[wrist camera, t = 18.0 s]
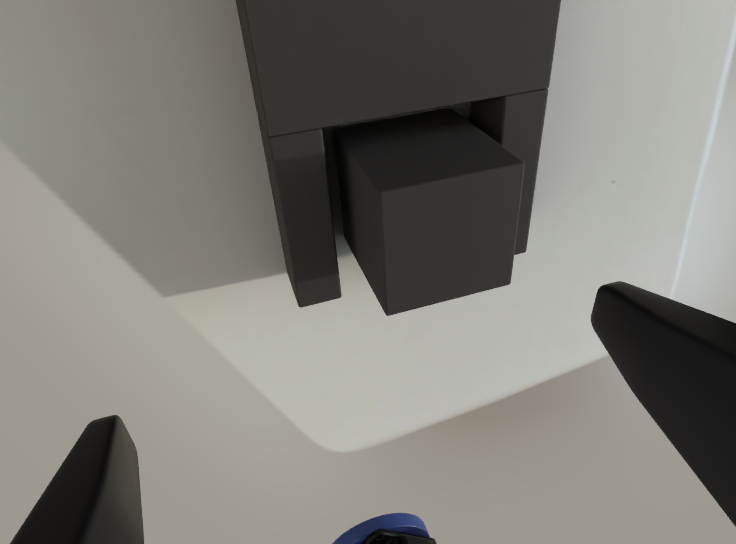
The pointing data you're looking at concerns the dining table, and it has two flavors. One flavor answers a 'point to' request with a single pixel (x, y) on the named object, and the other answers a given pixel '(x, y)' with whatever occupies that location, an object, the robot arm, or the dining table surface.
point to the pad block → (428, 207)
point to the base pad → (386, 94)
